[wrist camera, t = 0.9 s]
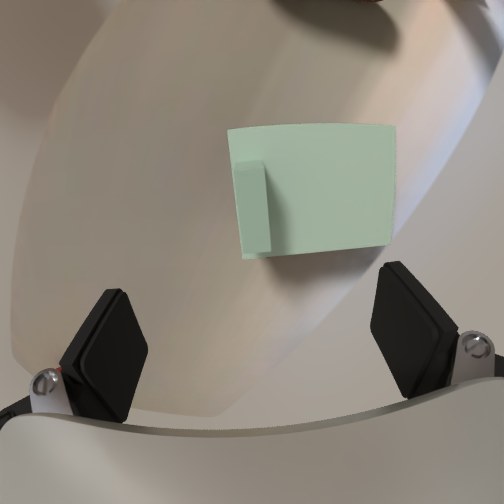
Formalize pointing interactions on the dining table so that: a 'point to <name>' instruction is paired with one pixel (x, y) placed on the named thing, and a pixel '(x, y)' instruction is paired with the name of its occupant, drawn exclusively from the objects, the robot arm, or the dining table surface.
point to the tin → (370, 0)
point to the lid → (313, 187)
